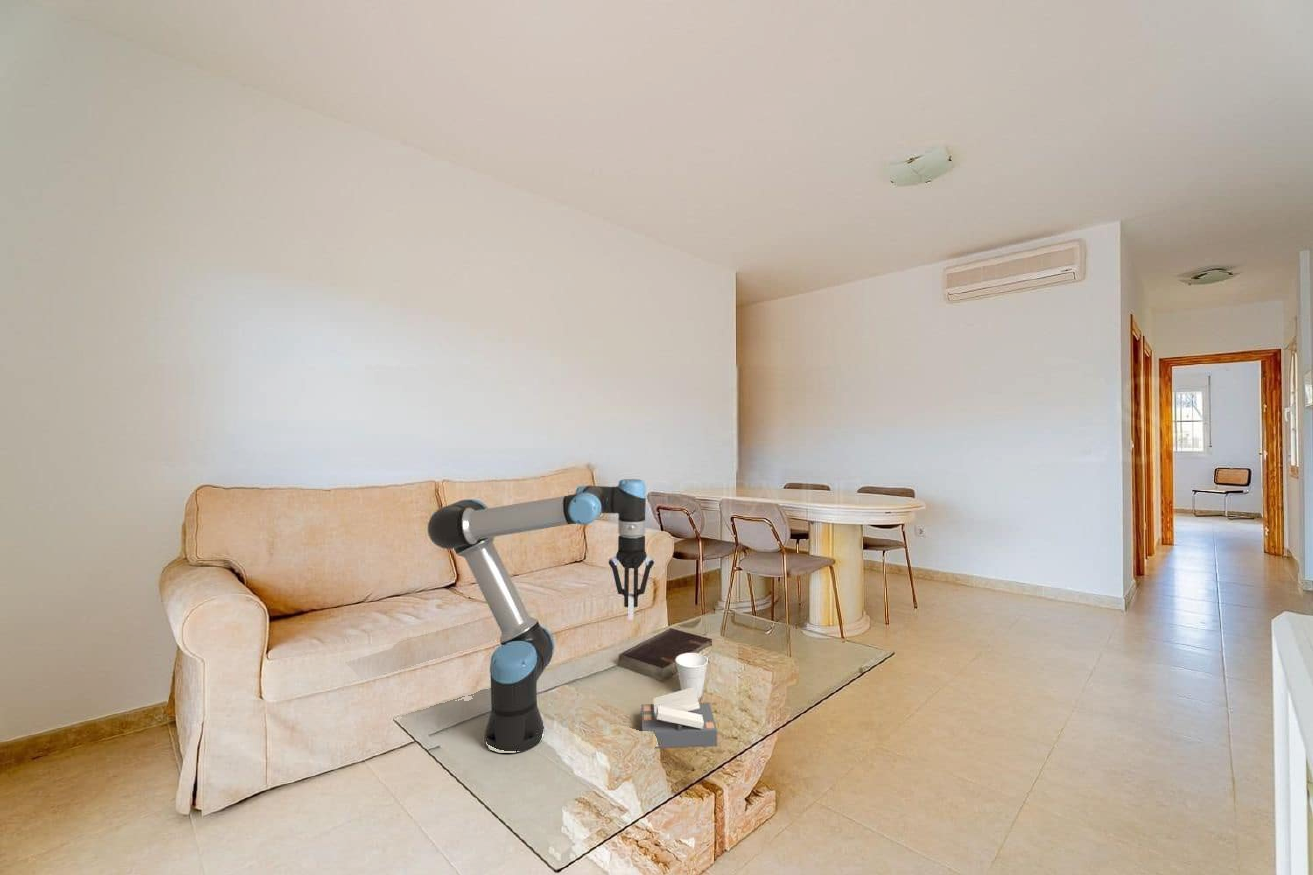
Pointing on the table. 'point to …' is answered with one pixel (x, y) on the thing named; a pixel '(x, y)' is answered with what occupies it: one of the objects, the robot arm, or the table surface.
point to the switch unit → (680, 729)
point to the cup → (692, 671)
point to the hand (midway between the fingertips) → (630, 618)
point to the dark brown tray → (661, 653)
